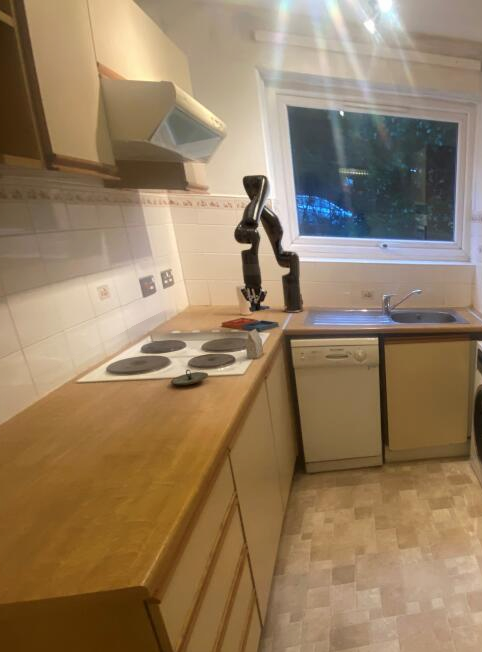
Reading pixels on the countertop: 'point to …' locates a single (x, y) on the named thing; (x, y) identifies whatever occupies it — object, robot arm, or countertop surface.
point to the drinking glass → (243, 301)
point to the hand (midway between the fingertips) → (256, 310)
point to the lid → (189, 378)
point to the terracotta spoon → (240, 321)
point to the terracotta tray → (238, 326)
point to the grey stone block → (254, 345)
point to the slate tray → (260, 325)
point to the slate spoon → (253, 309)
